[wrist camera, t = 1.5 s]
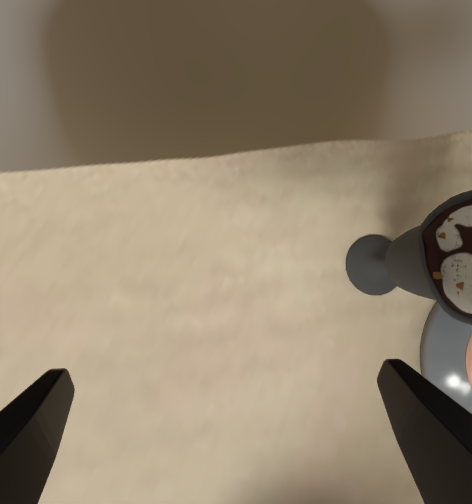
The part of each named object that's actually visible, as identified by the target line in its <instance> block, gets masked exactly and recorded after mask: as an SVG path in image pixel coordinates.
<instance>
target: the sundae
mask: <svg viewBox="0 0 472 504" xmlns="http://www.w3.org/2000/svg"><path fill="white" fill-rule="evenodd" d="M346 270H347V274H348V276H349V279H350V281H351V282H352V283H353V285H354V286H355V287H356V288H357V289H359V290H360V291H362V292H364V293H366V294H369V295H382V294H386V293H388V292H390V291H392V290H393V289H394V288H395V287H396V286H398V287H400V288H402V289H404V290H406V291H408V292H411V293H413V294H416V295H419V296H422V297H426V298H430V299H433V300H437V302H438V303H439V305H440V306H441V307H442V309H443V310H444V311H445V312H446V313H447V314H448V315H449V316H451V317H452V318H454V319H456V320H458V321H460V322H463V323H467V324H470V325H472V190H471V191H468V192H464V193H461V194H459V195H456V196H454V197H451V198H449V199H448V200H447V201H445V202H444V203H442V204H441V205H439V206H438V207H437V208H436V209H435V210H434V211H432V212H431V213H430V214H429V215H428V216H427V218H426V219H425V220H424V222H423V223H422V224H421V225H420V226H418V227H415V228H413V229H411V230H409V231H407V232H405V233H404V234H402V235H401V236H399V237H398V238H396V239H395V240H394V241H393V242H392V241H390V240H388V239H386V238H384V237H382V236H376V235H370V236H366V237H363V238H361V239H359V240H358V241H356V242H355V243H354V244H353V245H352V246H351V248H350V250H349V252H348V254H347V257H346Z"/></svg>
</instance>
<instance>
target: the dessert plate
mask: <svg viewBox="0 0 472 504" xmlns="http://www.w3.org/2000/svg"><path fill="white" fill-rule="evenodd" d="M420 366H421V374H422V376H423V377H424V378H426V379H427V380H428V381H430V382H431V383H432V384H434V385H435V386H436V387H437V388H439V389H440V390H441V391H443V392H444V393H445V394H447V395H448V396H449V397H451V398H452V399H453V400H454V401H456V402H457V403H458V404H460V405H461V406H462V407H464V408H465V409H466V410H468V411H469V412H470V413H471V414H472V325H470V324H467V323H463V322H460V321H458V320H456V319H454V318H452V317H451V316H449V315H448V314H447V313H446V312H445V311H444V310H443V309H442V307H441V306H440V305H439V303H438V302H436V304H435V305H434V307H433V309H432V311H431V312H430V314H429V316H428V319H427V321H426V324H425V327H424V330H423V334H422V339H421V346H420Z"/></svg>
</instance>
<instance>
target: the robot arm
mask: <svg viewBox="0 0 472 504" xmlns="http://www.w3.org/2000/svg"><path fill="white" fill-rule="evenodd" d="M377 383H378V387H379V390H380V393H381V396H382V399H383V402H384V405H385V408H386V411H387V414H388V417H389V420H390V423H391V426H392V429H393V431H394V434H395V437H396V440H397V442H398V444H399V447H400V449H401V451H402V454H403V456H404V458H405V460H406V463H407V465H408V467H409V469H410V472H411V474H412V476H413V478H414V481H415V483H416V485H417V487H418V489H419V492H420V494H421V496H422V498H423V501H424V503H425V504H472V414H471V413H470V412H469V411H468V410H466V409H465V408H464V407H462V406H461V405H460V404H458V403H457V402H456V401H454V400H453V399H452V398H451V397H449V396H448V395H447V394H445V393H444V392H443V391H441V390H440V389H439V388H437V387H436V386H435V385H434V384H432V383H431V382H430V381H428V380H427V379H426V378H424V377H423V376H422V375H420V374H419V373H418V372H417V371H415V370H414V369H413V368H411V367H410V366H409V365H407V364H406V363H405V362H403V361H402V360H400V359H386V360H385V361H384V362H383V364H382V367H381V369H380V372H379V374H378V377H377ZM73 397H74V385H73V382H72V380H71V377H70V375H69V372H68V370H67V369H65V368H60V369H50V370H48V371H47V372H46V373H44V374H43V375H42V376H41V377H40V378H39V379H37V380H36V381H35V382H34V383H33V384H32V385H30V386H29V387H28V388H27V389H26V390H24V391H23V392H22V393H21V394H20V395H19V396H17V397H16V398H15V399H14V400H13V401H12V402H10V403H9V404H8V405H7V406H6V407H5V408H3V409H2V410H1V411H0V504H38V501H39V499H40V496H41V494H42V491H43V489H44V486H45V484H46V481H47V479H48V476H49V474H50V471H51V469H52V466H53V463H54V461H55V458H56V455H57V452H58V449H59V446H60V442H61V439H62V435H63V432H64V428H65V425H66V421H67V418H68V414H69V411H70V407H71V404H72V401H73Z"/></svg>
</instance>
